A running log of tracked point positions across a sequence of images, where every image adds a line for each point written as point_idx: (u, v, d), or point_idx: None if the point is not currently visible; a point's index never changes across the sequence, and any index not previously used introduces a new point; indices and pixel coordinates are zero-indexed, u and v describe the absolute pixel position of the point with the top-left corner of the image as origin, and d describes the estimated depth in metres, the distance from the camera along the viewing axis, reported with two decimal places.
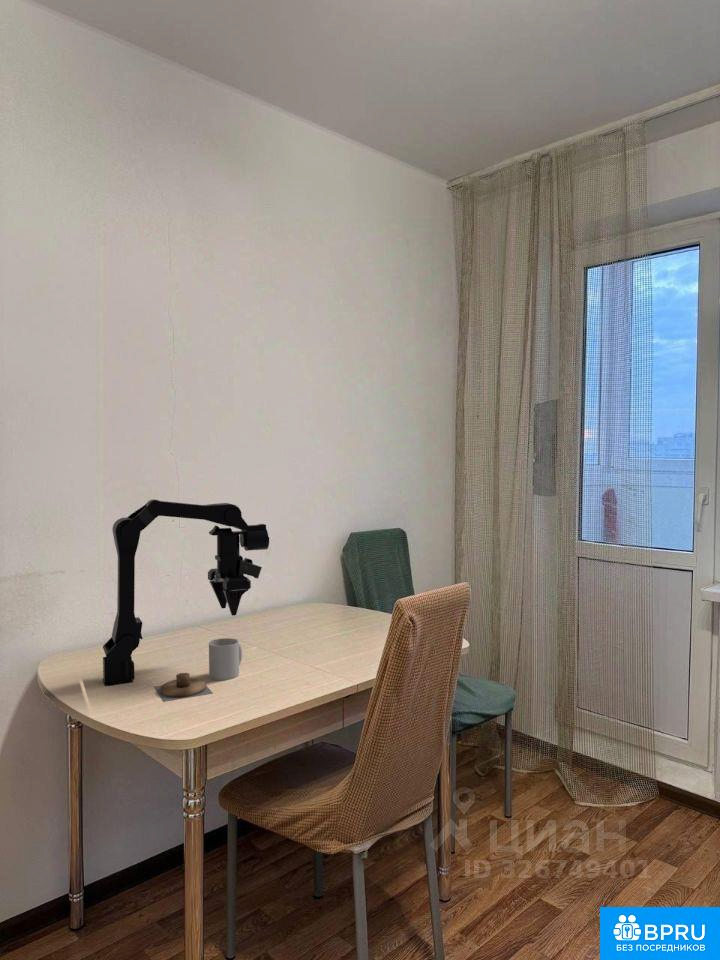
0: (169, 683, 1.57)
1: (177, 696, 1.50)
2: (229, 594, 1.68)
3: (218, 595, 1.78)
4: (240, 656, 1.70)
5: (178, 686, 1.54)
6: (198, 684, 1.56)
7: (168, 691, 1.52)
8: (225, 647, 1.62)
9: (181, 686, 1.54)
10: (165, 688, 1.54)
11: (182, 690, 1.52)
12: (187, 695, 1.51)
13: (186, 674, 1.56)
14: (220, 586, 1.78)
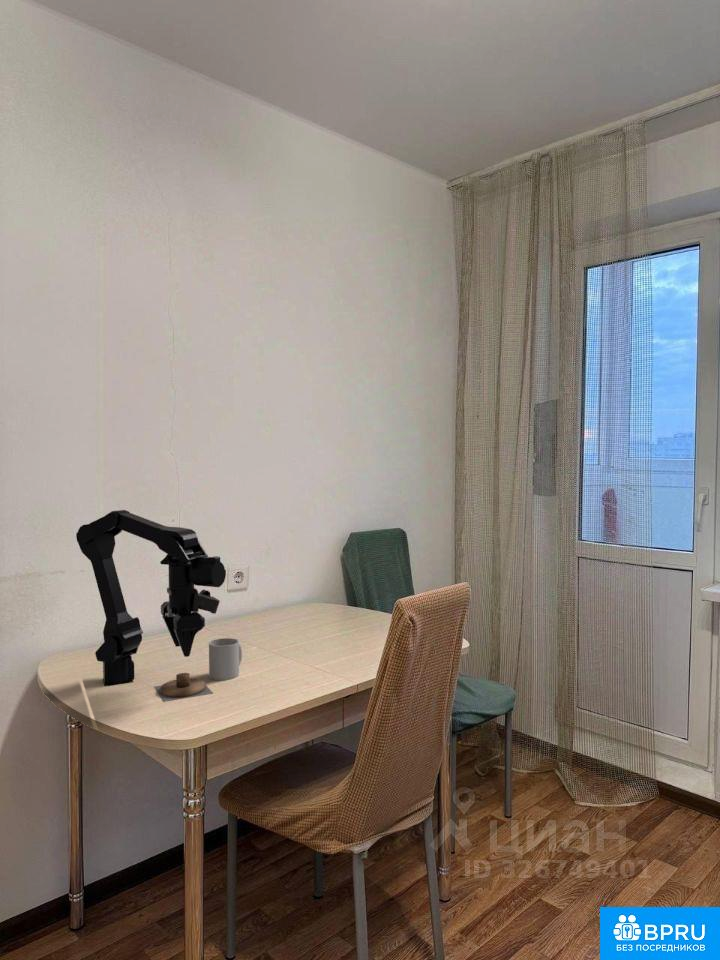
0: (168, 683, 1.57)
1: (177, 696, 1.50)
2: (180, 633, 1.49)
3: (171, 632, 1.59)
4: (240, 656, 1.70)
5: (178, 686, 1.54)
6: (198, 684, 1.56)
7: (168, 691, 1.52)
8: (225, 647, 1.62)
9: (181, 686, 1.54)
10: (165, 688, 1.54)
11: (182, 690, 1.52)
12: (187, 695, 1.51)
13: (186, 674, 1.56)
14: None
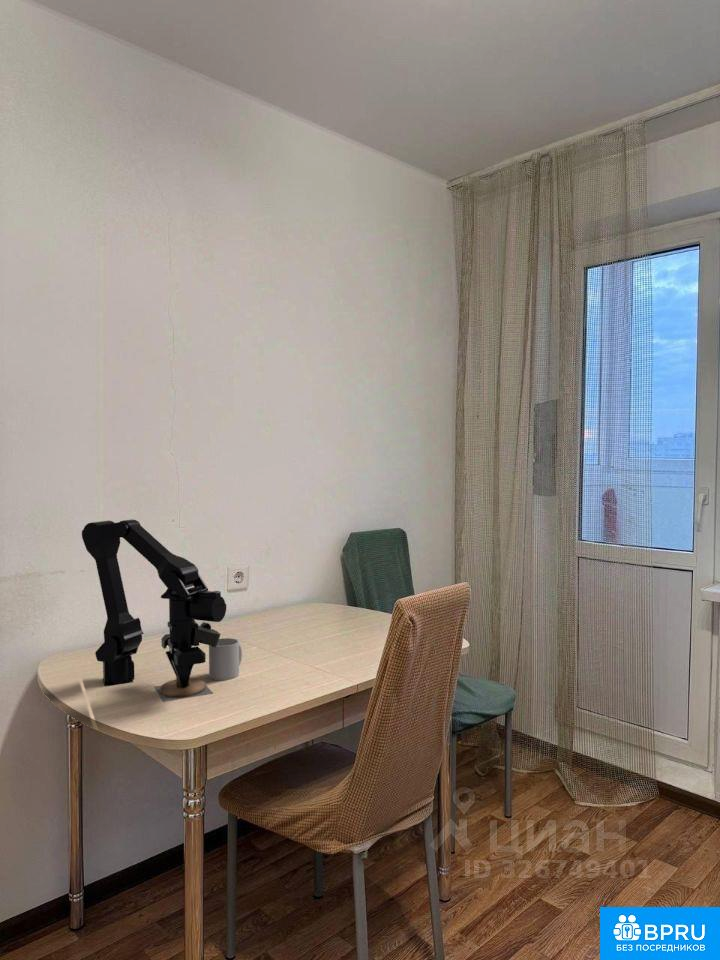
0: (168, 683, 1.57)
1: (177, 696, 1.51)
2: (178, 665, 1.51)
3: (175, 668, 1.56)
4: (240, 656, 1.70)
5: (178, 686, 1.54)
6: (198, 684, 1.56)
7: (168, 691, 1.52)
8: (225, 647, 1.62)
9: (181, 686, 1.54)
10: (165, 688, 1.54)
11: (182, 690, 1.52)
12: (187, 695, 1.51)
13: None
14: None
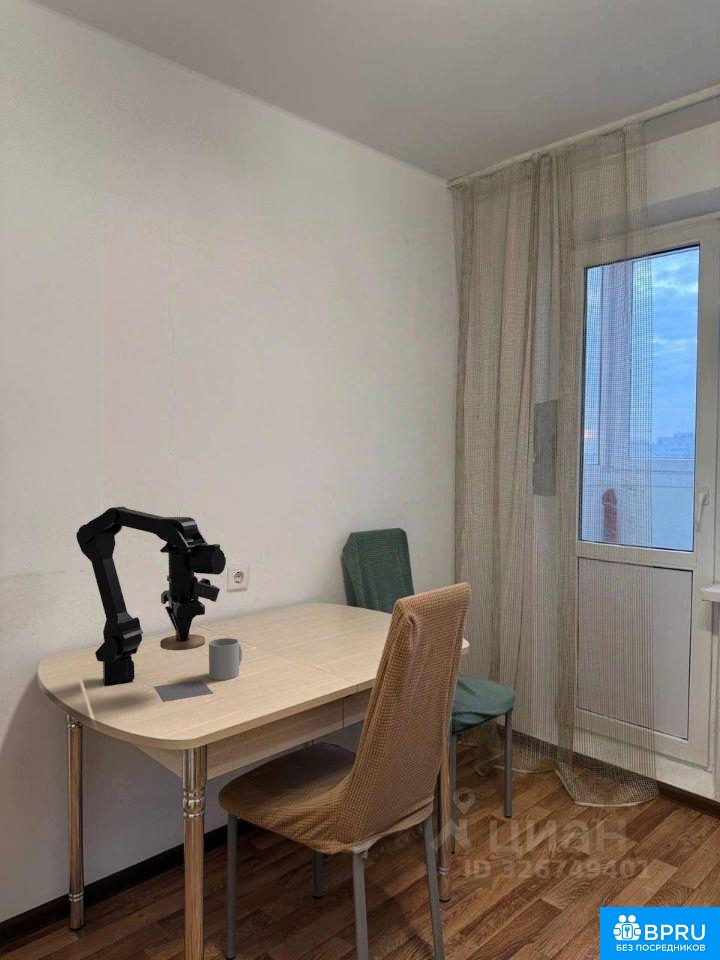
0: (168, 638, 1.56)
1: (177, 649, 1.50)
2: (178, 618, 1.51)
3: (174, 623, 1.56)
4: (240, 656, 1.70)
5: (178, 640, 1.54)
6: (197, 639, 1.56)
7: (168, 644, 1.51)
8: (225, 647, 1.62)
9: (181, 640, 1.54)
10: (164, 642, 1.53)
11: (182, 643, 1.52)
12: (187, 648, 1.51)
13: None
14: None
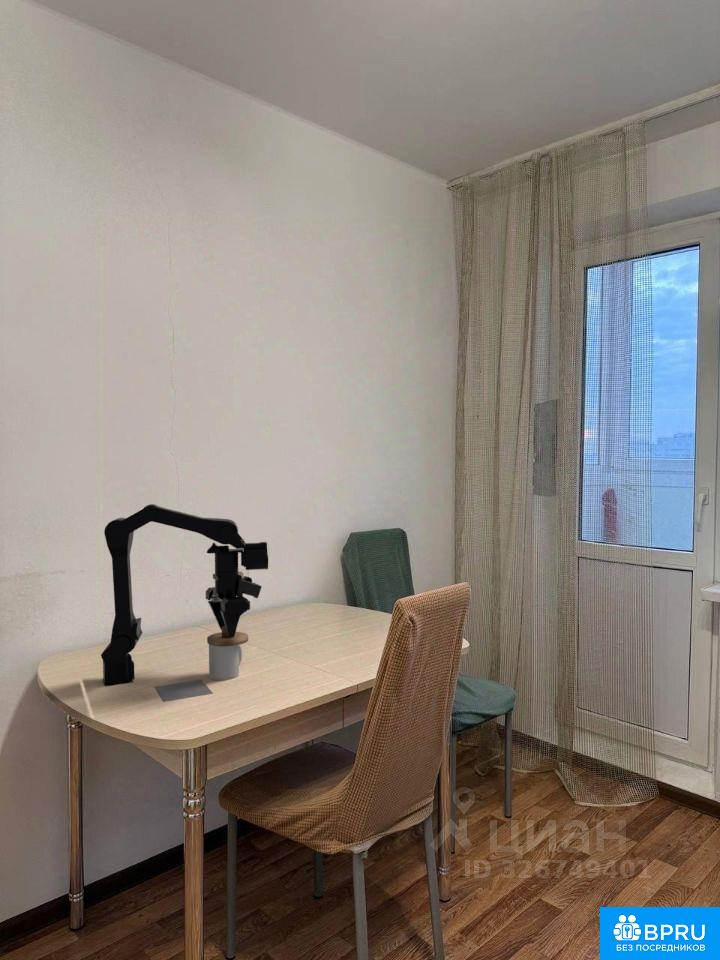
0: (214, 635, 1.68)
1: (223, 645, 1.62)
2: (227, 615, 1.60)
3: (217, 616, 1.70)
4: (240, 656, 1.70)
5: (223, 637, 1.65)
6: (241, 636, 1.67)
7: (215, 641, 1.63)
8: (225, 647, 1.62)
9: (226, 637, 1.65)
10: (211, 638, 1.65)
11: (228, 640, 1.64)
12: (233, 644, 1.62)
13: None
14: (219, 606, 1.70)
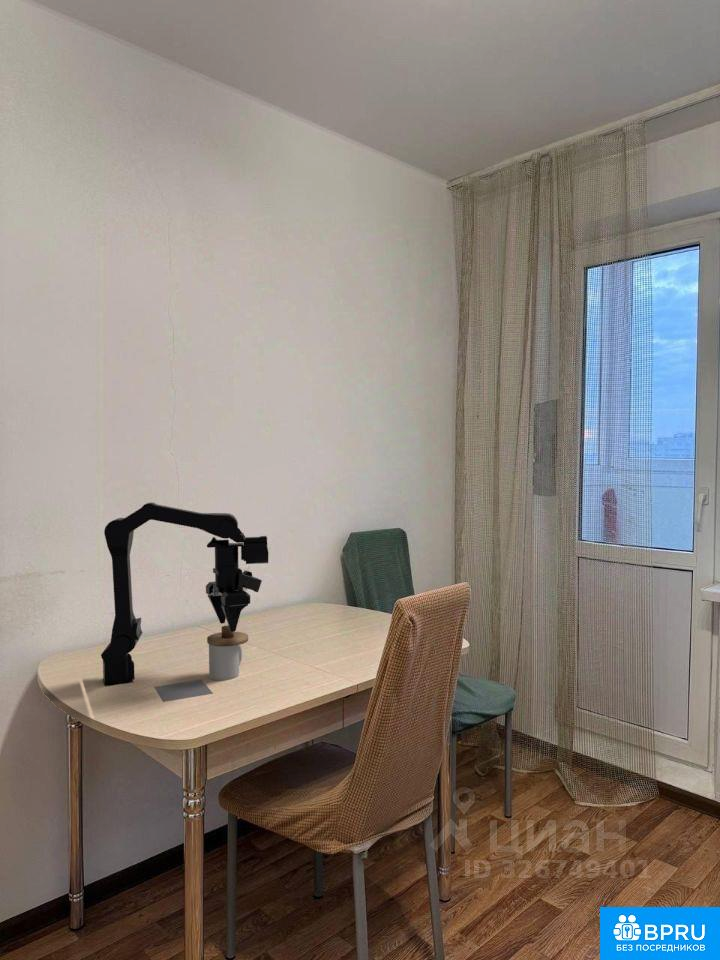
0: (214, 635, 1.68)
1: (223, 645, 1.62)
2: (228, 609, 1.60)
3: (217, 610, 1.70)
4: (240, 656, 1.70)
5: (223, 637, 1.65)
6: (241, 636, 1.67)
7: (215, 641, 1.63)
8: (225, 647, 1.62)
9: (226, 637, 1.65)
10: (211, 638, 1.65)
11: (228, 640, 1.64)
12: (232, 644, 1.62)
13: None
14: (219, 600, 1.71)
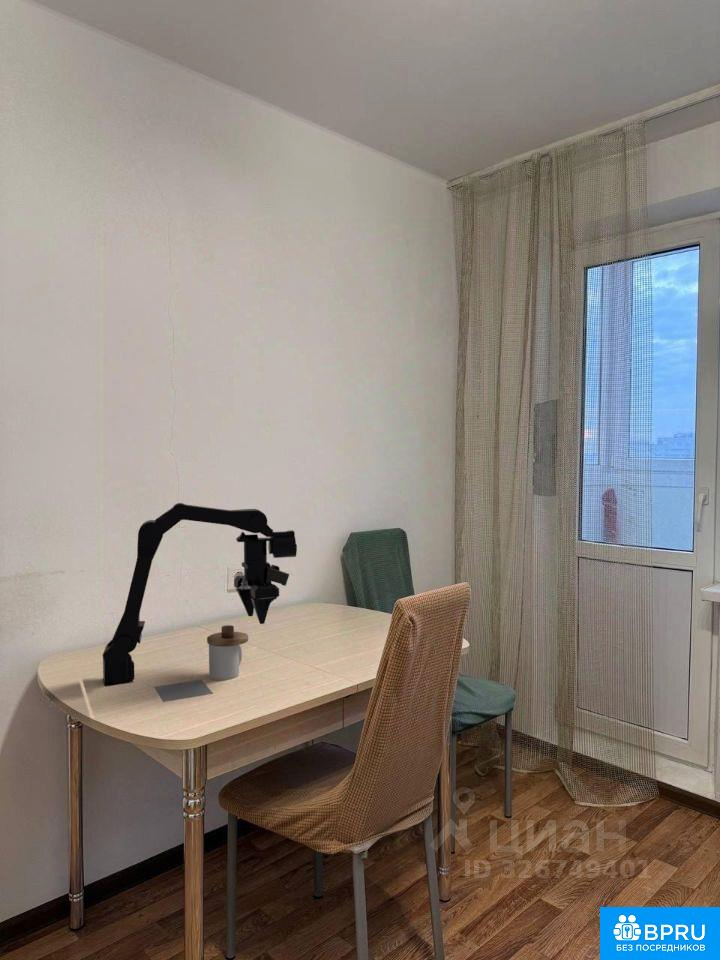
0: (214, 635, 1.68)
1: (223, 645, 1.62)
2: (257, 602, 1.64)
3: (245, 603, 1.74)
4: (240, 656, 1.70)
5: (223, 637, 1.65)
6: (241, 636, 1.67)
7: (215, 641, 1.63)
8: (225, 647, 1.62)
9: (226, 637, 1.65)
10: (211, 638, 1.65)
11: (228, 640, 1.63)
12: (232, 644, 1.62)
13: (230, 626, 1.67)
14: (247, 594, 1.75)
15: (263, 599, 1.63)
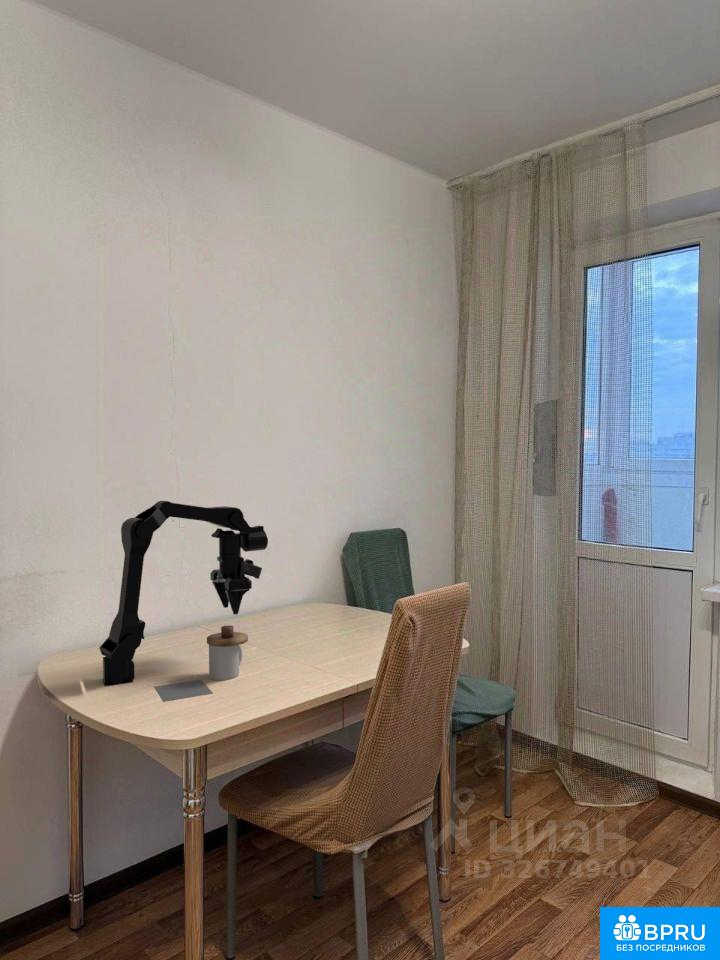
0: (214, 635, 1.68)
1: (223, 645, 1.62)
2: (231, 594, 1.75)
3: (220, 595, 1.85)
4: (240, 656, 1.70)
5: (223, 637, 1.65)
6: (241, 636, 1.67)
7: (214, 641, 1.63)
8: (225, 647, 1.62)
9: (226, 637, 1.65)
10: (210, 639, 1.65)
11: (227, 640, 1.63)
12: (232, 644, 1.62)
13: (230, 626, 1.67)
14: (222, 586, 1.85)
15: (236, 591, 1.74)
